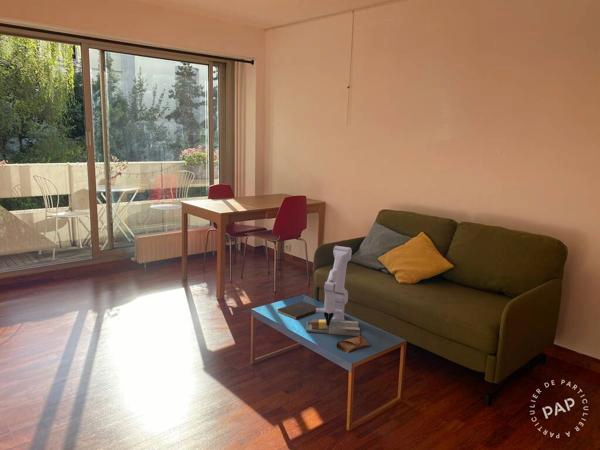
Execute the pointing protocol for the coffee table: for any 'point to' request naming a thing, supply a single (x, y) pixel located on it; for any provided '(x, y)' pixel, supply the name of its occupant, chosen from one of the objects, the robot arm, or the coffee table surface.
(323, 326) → the mustard cube
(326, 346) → the coffee table surface
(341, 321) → the channel
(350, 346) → the sunglasses case
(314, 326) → the walnut cube
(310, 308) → the hardcover book
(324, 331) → the tray
